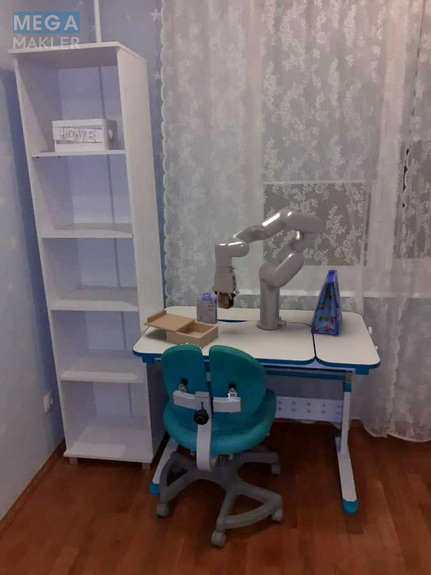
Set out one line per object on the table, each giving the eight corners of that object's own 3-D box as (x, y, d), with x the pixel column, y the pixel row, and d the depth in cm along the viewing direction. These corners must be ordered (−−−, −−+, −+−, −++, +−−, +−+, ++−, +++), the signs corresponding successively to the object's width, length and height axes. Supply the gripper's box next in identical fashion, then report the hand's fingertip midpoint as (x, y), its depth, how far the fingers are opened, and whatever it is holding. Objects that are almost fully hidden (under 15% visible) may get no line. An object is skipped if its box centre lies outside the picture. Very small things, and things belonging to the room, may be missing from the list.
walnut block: (233, 305, 220) (232, 293, 218) (228, 309, 216) (227, 297, 214) (224, 304, 222) (223, 292, 220) (218, 307, 218) (218, 295, 216)
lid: (195, 320, 223) (195, 314, 222) (175, 332, 209) (174, 325, 208) (164, 313, 232) (164, 307, 231) (143, 324, 219) (143, 318, 218)
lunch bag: (339, 336, 215) (343, 277, 206) (309, 333, 219) (312, 274, 210) (342, 320, 234) (346, 264, 226) (315, 317, 239) (318, 262, 230)
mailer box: (218, 336, 218) (218, 326, 216) (199, 349, 205) (199, 338, 203) (186, 329, 227) (186, 319, 225) (166, 341, 214) (166, 330, 212)
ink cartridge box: (217, 319, 238) (217, 292, 234) (215, 323, 233) (215, 296, 229) (199, 318, 240) (198, 292, 236) (196, 322, 235) (195, 295, 231)
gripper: (244, 268, 212) (245, 305, 217) (212, 264, 220) (214, 300, 226) (236, 272, 206) (238, 310, 211) (204, 268, 214) (206, 305, 220)
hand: (226, 305), depth 219 cm, fingers closed on walnut block, 5 cm apart
